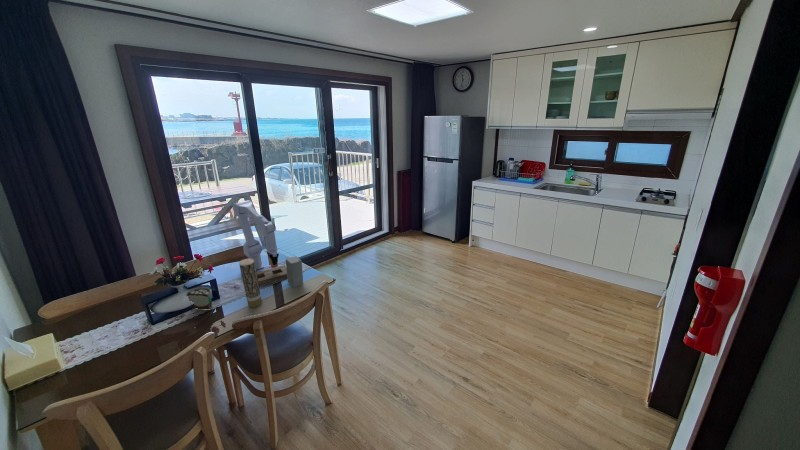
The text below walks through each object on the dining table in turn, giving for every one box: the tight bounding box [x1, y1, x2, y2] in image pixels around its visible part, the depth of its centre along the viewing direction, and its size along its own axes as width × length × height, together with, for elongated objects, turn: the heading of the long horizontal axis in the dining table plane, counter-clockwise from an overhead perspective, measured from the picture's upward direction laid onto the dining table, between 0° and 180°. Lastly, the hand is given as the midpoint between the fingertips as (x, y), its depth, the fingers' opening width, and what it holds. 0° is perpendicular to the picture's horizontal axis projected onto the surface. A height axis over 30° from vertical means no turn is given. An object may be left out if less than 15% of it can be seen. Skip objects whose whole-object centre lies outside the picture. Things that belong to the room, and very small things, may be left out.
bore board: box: [256, 264, 287, 287], centre depth 187 cm, size 12×22×3 cm, turn 123°
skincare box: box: [285, 255, 304, 288], centre depth 179 cm, size 8×7×16 cm
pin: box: [268, 254, 279, 269], centre depth 185 cm, size 4×4×8 cm
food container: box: [185, 287, 213, 310], centre depth 158 cm, size 12×6×10 cm, turn 84°
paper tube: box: [238, 258, 263, 308], centre depth 158 cm, size 7×7×25 cm
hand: (274, 263), depth 186 cm, fingers closed on pin, 4 cm apart
